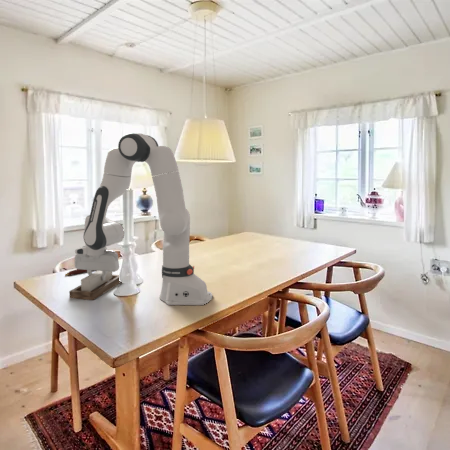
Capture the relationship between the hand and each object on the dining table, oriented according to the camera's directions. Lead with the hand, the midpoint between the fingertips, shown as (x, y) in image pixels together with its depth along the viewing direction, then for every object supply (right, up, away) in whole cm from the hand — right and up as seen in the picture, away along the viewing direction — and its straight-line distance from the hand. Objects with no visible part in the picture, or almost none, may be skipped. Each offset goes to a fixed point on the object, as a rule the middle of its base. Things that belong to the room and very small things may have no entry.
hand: (97, 279), depth 162 cm
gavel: (-16, -1, +27) cm, 32 cm away
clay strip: (0, -2, 0) cm, 2 cm away
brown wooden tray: (0, -4, +1) cm, 5 cm away
